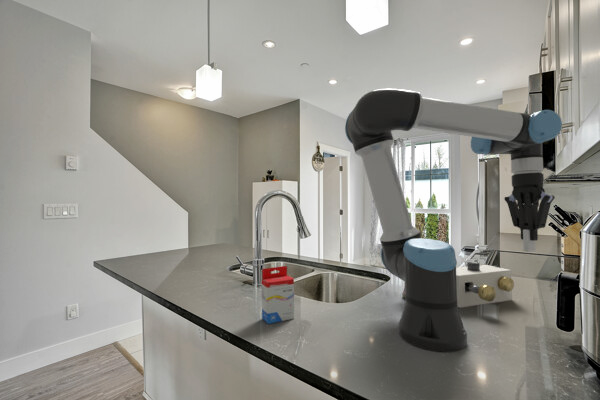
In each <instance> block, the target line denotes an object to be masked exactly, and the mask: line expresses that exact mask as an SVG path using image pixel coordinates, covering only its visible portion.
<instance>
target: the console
mask: <svg viewBox="0 0 600 400" xmlns="http://www.w3.org/2000/svg"><path fill="white" fill-rule="evenodd" d="M500 277H508V278H511V279H512V270H511V269H508V268H502V267H498V266H495V265H489V264H480V271H471V270H467V266H461V267H459V266H458V267H456V281H457V308H459V309H460V308H466V307H473V306H479V305H481V306H482V305H487V304H494V303H500V302H508V301H513V289H512V290H511V291H510V292H508V291H504V290H501V289H500V288H499V287H498V280H499V278H500ZM465 283H469V284H472V285H475V286H478V287H480V286H481V285H488V286H491V287H493V288H494V289H495V291H496V296H495V298H494V300H493V301H490V302H489V301H486V300H483V299H481V298H480V297H479V295H478V294H477V293H474V292H471V291H468V290H465Z"/></svg>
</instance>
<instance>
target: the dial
mask: <svg viewBox="0 0 600 400" xmlns="http://www.w3.org/2000/svg"><path fill="white" fill-rule="evenodd" d="M480 265H481V264H480V262H477V261H467V262H466V267H467V270H471V271H480Z"/></svg>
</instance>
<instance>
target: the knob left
mask: <svg viewBox="0 0 600 400" xmlns="http://www.w3.org/2000/svg"><path fill="white" fill-rule="evenodd" d="M465 290H468V291H471V292H474V293H477V294H478V295H479V297H480V298H481V299H483V300H486V301H489V302H490V301H493V300H494V298H495V296H496V291H495V289H494V288H493V287H491V286H488V285H481V286H480V287H478V286H475V285H472V284H469V283H465Z"/></svg>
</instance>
